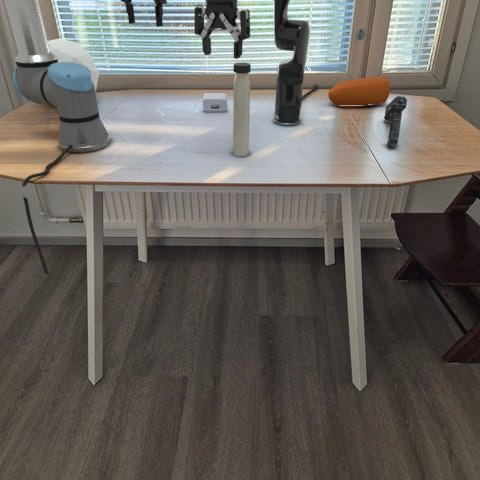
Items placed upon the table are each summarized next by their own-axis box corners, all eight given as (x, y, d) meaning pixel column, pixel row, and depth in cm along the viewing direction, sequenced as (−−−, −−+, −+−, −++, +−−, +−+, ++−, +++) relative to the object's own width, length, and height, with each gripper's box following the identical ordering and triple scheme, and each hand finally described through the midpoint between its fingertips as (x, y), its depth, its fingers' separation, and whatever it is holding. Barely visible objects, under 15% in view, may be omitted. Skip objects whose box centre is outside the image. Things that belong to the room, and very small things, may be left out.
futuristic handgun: (389, 146, 153) (397, 104, 149) (399, 145, 125) (409, 94, 122) (379, 144, 154) (386, 103, 150) (386, 144, 126) (395, 93, 122)
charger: (226, 100, 170) (227, 111, 158) (204, 100, 170) (203, 111, 158) (226, 88, 168) (226, 99, 155) (204, 88, 167) (202, 99, 155)
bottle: (251, 153, 125) (254, 65, 110) (240, 157, 122) (241, 68, 108) (241, 149, 127) (242, 63, 113) (229, 153, 125) (229, 65, 110)
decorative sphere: (41, 71, 170) (18, 23, 146) (103, 69, 174) (90, 22, 151) (41, 120, 163) (17, 77, 140) (106, 117, 167) (93, 75, 144)
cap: (253, 71, 111) (254, 64, 110) (241, 74, 108) (241, 66, 107) (242, 69, 114) (242, 61, 113) (230, 71, 111) (230, 63, 110)
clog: (332, 114, 163) (392, 106, 164) (333, 87, 157) (396, 78, 158) (323, 105, 173) (381, 98, 174) (324, 79, 167) (383, 71, 167)
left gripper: (173, -43, 139) (178, 26, 151) (119, -44, 149) (127, 21, 162) (159, -44, 134) (165, 28, 146) (104, -45, 144) (114, 23, 156)
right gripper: (257, -21, 91) (254, 57, 100) (204, -23, 97) (206, 51, 106) (240, -20, 86) (239, 62, 95) (185, -22, 91) (189, 55, 100)
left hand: (145, 24), depth 154 cm, fingers open, 13 cm apart
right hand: (222, 56), depth 100 cm, fingers open, 8 cm apart
